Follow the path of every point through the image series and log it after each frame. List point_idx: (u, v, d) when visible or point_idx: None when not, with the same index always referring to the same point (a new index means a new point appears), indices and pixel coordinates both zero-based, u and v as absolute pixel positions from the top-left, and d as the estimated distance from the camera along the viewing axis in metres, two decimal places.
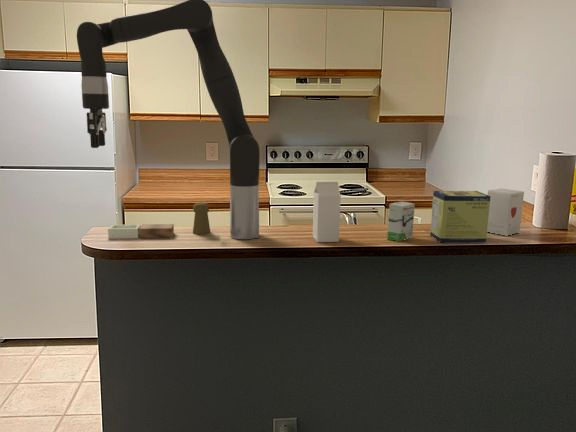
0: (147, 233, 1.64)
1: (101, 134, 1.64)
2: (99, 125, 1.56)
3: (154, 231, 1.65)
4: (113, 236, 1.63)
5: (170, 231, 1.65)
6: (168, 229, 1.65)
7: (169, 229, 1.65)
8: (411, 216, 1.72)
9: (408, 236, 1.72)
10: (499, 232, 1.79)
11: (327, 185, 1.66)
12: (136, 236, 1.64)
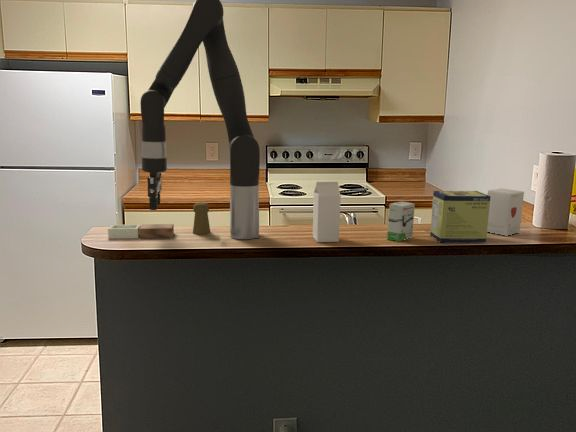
0: (147, 233, 1.64)
1: (157, 194, 1.69)
2: (158, 188, 1.61)
3: (154, 231, 1.65)
4: (113, 236, 1.63)
5: (170, 231, 1.65)
6: (168, 229, 1.65)
7: (169, 229, 1.65)
8: (411, 216, 1.72)
9: (408, 236, 1.72)
10: (499, 232, 1.79)
11: (327, 185, 1.66)
12: (136, 236, 1.64)
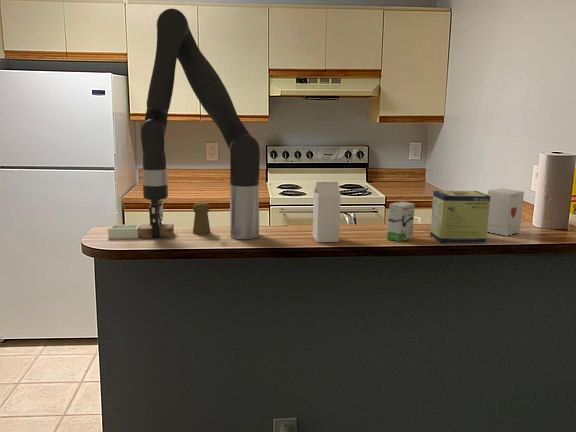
0: (147, 233, 1.64)
1: (158, 222, 1.70)
2: (160, 216, 1.64)
3: None
4: (113, 236, 1.63)
5: (170, 231, 1.65)
6: (168, 229, 1.65)
7: (169, 229, 1.65)
8: (411, 216, 1.72)
9: (408, 236, 1.72)
10: (499, 232, 1.79)
11: (327, 185, 1.66)
12: (136, 236, 1.64)
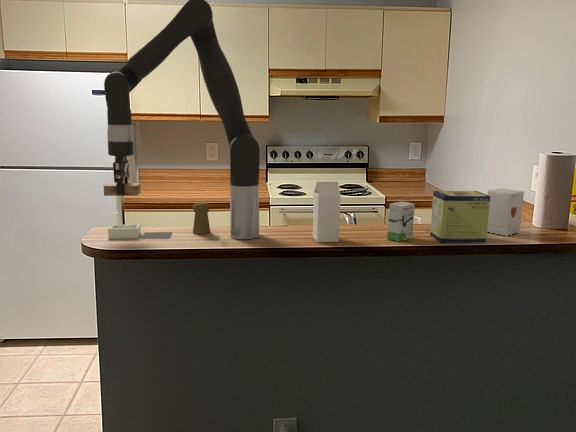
0: (112, 191, 1.60)
1: (124, 181, 1.66)
2: (125, 173, 1.60)
3: None
4: (113, 236, 1.63)
5: (135, 189, 1.61)
6: (133, 187, 1.61)
7: (134, 187, 1.61)
8: (411, 216, 1.72)
9: (408, 236, 1.72)
10: (499, 232, 1.79)
11: (327, 185, 1.66)
12: (136, 236, 1.64)
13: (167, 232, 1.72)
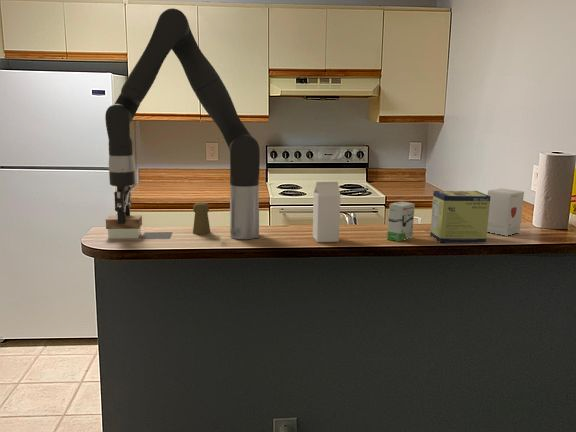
0: (114, 224, 1.63)
1: (126, 207, 1.69)
2: (126, 202, 1.61)
3: None
4: (113, 236, 1.63)
5: (137, 222, 1.63)
6: (135, 220, 1.63)
7: (136, 220, 1.63)
8: (411, 216, 1.72)
9: (408, 236, 1.72)
10: (499, 232, 1.79)
11: (327, 185, 1.66)
12: (136, 236, 1.64)
13: (167, 232, 1.72)
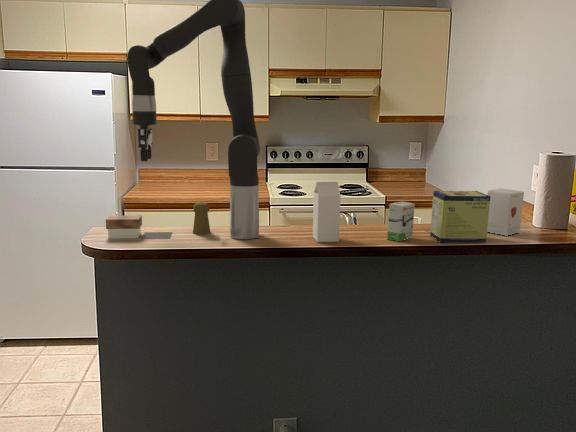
0: (114, 224, 1.63)
1: (148, 148, 1.77)
2: (148, 140, 1.69)
3: (121, 222, 1.63)
4: (113, 236, 1.63)
5: (137, 222, 1.63)
6: (135, 220, 1.63)
7: (136, 220, 1.63)
8: (411, 216, 1.72)
9: (408, 236, 1.72)
10: (499, 232, 1.79)
11: (327, 185, 1.66)
12: (136, 236, 1.64)
13: (167, 232, 1.72)
